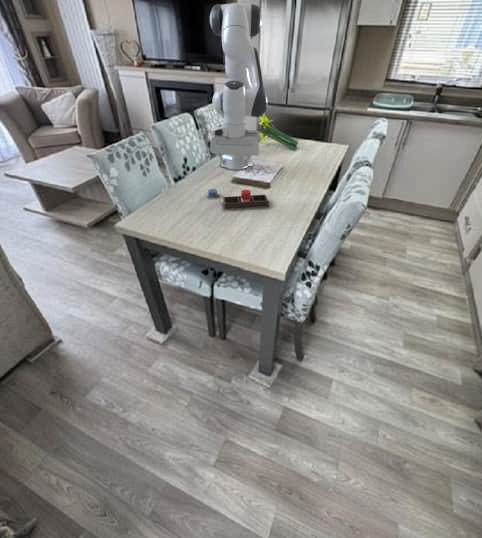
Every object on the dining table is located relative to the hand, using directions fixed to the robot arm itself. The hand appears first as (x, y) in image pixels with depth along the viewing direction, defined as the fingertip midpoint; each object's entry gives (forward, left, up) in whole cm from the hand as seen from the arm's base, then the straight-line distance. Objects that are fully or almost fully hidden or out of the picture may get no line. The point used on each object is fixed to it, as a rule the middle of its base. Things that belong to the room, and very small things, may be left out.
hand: (235, 164), depth 127 cm
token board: (+3, +4, -18) cm, 18 cm away
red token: (+4, +4, -14) cm, 15 cm away
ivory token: (+4, +4, -17) cm, 18 cm away
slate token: (-7, -10, -18) cm, 22 cm away
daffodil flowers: (-83, +39, -18) cm, 93 cm away
